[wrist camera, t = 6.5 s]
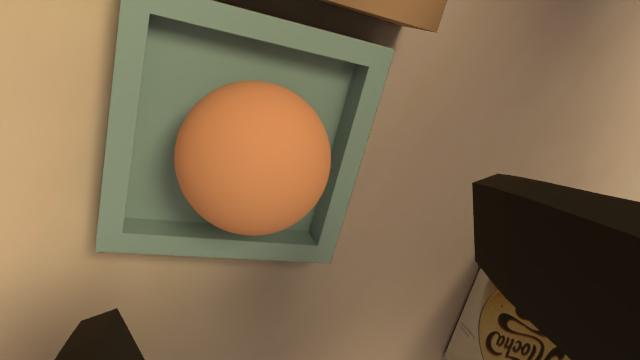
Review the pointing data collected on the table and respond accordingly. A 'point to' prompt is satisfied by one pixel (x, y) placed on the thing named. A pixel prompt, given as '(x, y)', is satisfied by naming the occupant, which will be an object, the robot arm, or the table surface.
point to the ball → (252, 158)
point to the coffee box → (497, 330)
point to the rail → (398, 11)
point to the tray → (196, 82)
